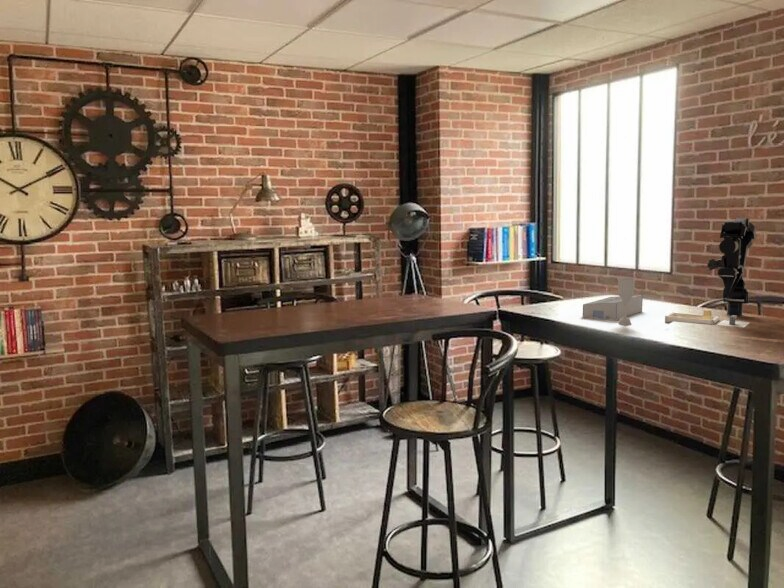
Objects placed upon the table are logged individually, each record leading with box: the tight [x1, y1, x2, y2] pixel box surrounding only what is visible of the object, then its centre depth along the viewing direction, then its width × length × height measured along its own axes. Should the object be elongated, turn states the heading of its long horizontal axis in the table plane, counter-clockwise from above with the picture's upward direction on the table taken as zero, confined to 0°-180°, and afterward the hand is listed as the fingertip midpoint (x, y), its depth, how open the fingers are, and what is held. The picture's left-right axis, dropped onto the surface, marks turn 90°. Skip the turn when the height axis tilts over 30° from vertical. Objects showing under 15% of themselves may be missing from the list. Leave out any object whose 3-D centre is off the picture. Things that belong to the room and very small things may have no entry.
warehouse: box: [582, 294, 644, 321], centre depth 282 cm, size 30×14×8 cm, turn 140°
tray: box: [664, 312, 720, 325], centre depth 260 cm, size 11×18×2 cm, turn 53°
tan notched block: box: [677, 309, 712, 320], centre depth 259 cm, size 6×12×5 cm, turn 53°
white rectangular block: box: [716, 315, 751, 328], centre depth 251 cm, size 13×10×4 cm
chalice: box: [616, 277, 637, 326], centre depth 257 cm, size 7×7×18 cm
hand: (729, 291), depth 260 cm, fingers open, 9 cm apart
